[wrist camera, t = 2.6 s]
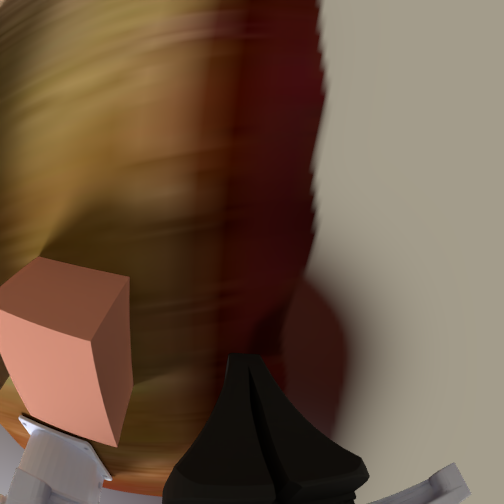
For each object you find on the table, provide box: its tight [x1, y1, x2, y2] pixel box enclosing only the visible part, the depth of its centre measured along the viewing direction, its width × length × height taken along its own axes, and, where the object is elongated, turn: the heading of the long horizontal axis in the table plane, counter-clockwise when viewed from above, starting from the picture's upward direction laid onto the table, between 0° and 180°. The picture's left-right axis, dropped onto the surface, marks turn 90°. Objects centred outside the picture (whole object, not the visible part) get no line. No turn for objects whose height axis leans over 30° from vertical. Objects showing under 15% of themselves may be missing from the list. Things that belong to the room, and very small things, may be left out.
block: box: [0, 256, 134, 447], centre depth 10 cm, size 7×5×4 cm
